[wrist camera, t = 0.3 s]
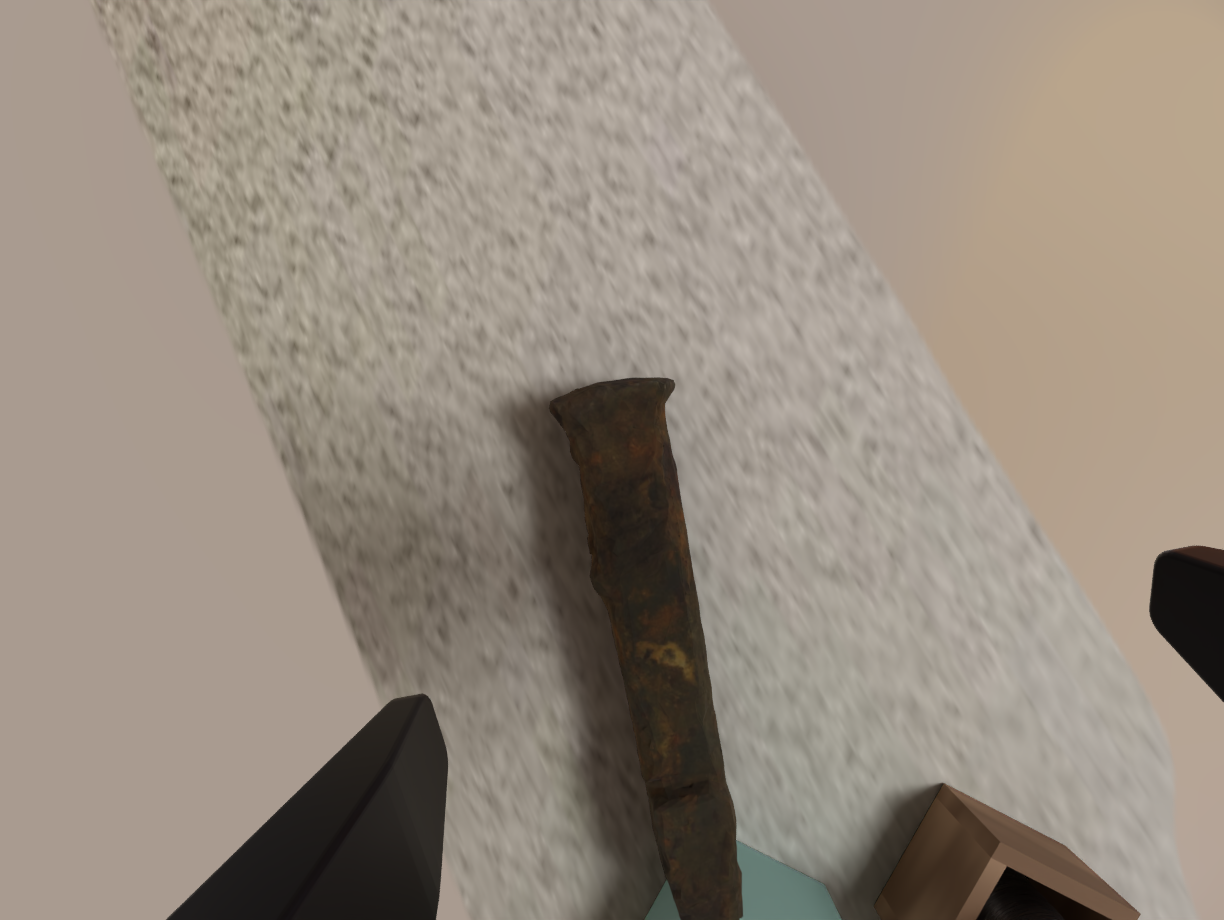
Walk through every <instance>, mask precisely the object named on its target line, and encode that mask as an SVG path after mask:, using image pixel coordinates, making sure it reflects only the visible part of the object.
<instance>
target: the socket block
mask: <svg viewBox="0 0 1224 920" xmlns="http://www.w3.org/2000/svg"><path fill="white" fill-rule="evenodd" d="M1007 866H1008V867H1010V868H1012V869H1014V870H1016V871H1018V872H1020V873H1022V874H1024V875H1026V876H1028V877H1030V878H1029V880H1028V881H1029V882H1030V883H1031V884H1032V885H1033V886H1034V887H1035V888H1036V889H1037V890H1038V891H1039V892H1040V893H1041V895H1042V896H1043V897H1044V898H1045V899H1046V900H1047V901H1048V902H1049V903H1050V904H1051V905H1052V906H1053V907H1054V908H1055V909H1056V910H1057V912H1058V913H1059V914H1060V915H1061V916H1062V917H1063V918H1064V919H1065V920H1137V919H1138V918H1139V916H1140V913H1139V912H1138V911H1137V910H1136V909H1135V908H1134V907H1132V906H1131V905H1130V904H1129V903H1128V902H1127V901H1126V900H1125V899H1124V898H1123V897H1121V896H1120V895H1119V894H1118V893H1117V892H1116V891H1115V890H1114V889H1113V888H1111V887H1110V886H1109V885H1108V884H1107V883H1106V882H1105V881H1104V880H1103V879H1102V878H1100V877H1099V876H1098V875H1097V874H1096V873H1095V872H1094V871H1093V870H1092V869H1090V868H1089V867H1088V866H1087V865H1086V864H1085V863H1084V862H1083V861H1082V860H1081V859H1079V858H1078V857H1077V856H1076V855H1075V854H1074V853H1073V852H1072V851H1071V850H1070V849H1068V848H1067V847H1066V846H1065V845H1063V844H1061V843H1059V842H1057V841H1055V840H1053V839H1051V838H1049V837H1047V836H1045V835H1043V834H1041V833H1039V832H1038V831H1036V830H1034V829H1032V828H1030V827H1028V826H1026V825H1024V824H1022V823H1020V822H1018V821H1016V820H1014V819H1012V818H1010V817H1008V816H1007V815H1005V814H1003V813H1001V812H999V811H997V810H995V809H993V808H991V807H989V806H987V805H985V804H983V803H981V802H979V801H977V800H976V799H974V798H972V797H970V796H968V795H966V794H964V793H962V792H960V791H958V790H956V789H954V788H952V787H950V786H948V785H946V784H945V783H944V784H943V786H942V787H941V789H940V791H939V793H938V794H937V796H936V798H935V800H934V801H933V803H932V805H931V807H930V808H929V810H928V812H927V814H926V815H925V817H924V819H923V821H922V822H921V824H920V826H919V828H918V829H917V831H916V833H915V835H914V836H913V838H912V840H911V842H910V843H909V845H908V847H907V849H906V850H905V852H904V854H903V856H902V857H901V859H900V861H899V863H898V865H897V866H896V868H895V870H894V872H893V873H892V875H891V877H890V879H889V880H888V882H887V884H886V886H885V887H884V889H883V891H882V893H881V894H880V896H879V898H878V900H877V901H876V903H875V905H874V908H875V909H876V911H877V913H878V915H879V916H880V918H881V920H976V919H977V917H978V915H979V913H980V912H981V910H982V908H983V907H984V905H985V903H986V901H987V900H988V898H989V896H990V894H991V893H992V891H993V889H994V887H995V886H996V884H997V882H998V881H999V879H1000V877H1001V875H1002V874H1003V872H1004V870H1005V868H1006V867H1007Z"/></svg>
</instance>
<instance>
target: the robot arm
mask: <svg viewBox="0 0 1224 920" xmlns="http://www.w3.org/2000/svg"><path fill="white" fill-rule="evenodd" d="M1149 612H1150V617H1151V620H1152V622H1153V624H1154V626H1155V628H1156V629H1157V630H1158V632H1159V633H1160V634H1161V635H1162V636H1163V637H1164V638H1165V639H1166V641H1167V642H1168V643H1169V644H1170V645H1171V646H1172V647H1173V648H1174V649H1175V650H1176V651H1177V652H1178V653H1179V654H1180V656H1181V657H1182V658H1183V659H1184V660H1185V661H1186V662H1187V663H1188V664H1189V665H1190V666H1191V668H1192V669H1193V670H1194V671H1195V672H1196V673H1197V674H1198V675H1199V676H1200V677H1201V678H1202V679H1203V680H1204V682H1205V683H1206V684H1207V685H1208V686H1209V687H1210V688H1211V689H1212V690H1213V691H1214V692H1215V694H1216V695H1217V696H1218V697H1219V698H1220V699H1221V700H1222V701H1223V702H1224V550H1221V549H1215V548H1211V547H1205V546H1188V547H1183V548H1178V549H1173V550H1168V551H1164V552H1162V553H1161V554H1159V555H1158V557H1157V558H1156V560H1155V564H1154V569H1153V578H1152V588H1151V597H1150V606H1149ZM447 776H448V757H447V750H446V746H445V742H444V739H443V736H442V733H441V730H440V727H439V723H438V720H437V717H436V714H435V711H434V708H433V705H432V702H431V700H430V699H429V697H428V696H427V695H425V694H417V695H411V696H406V697H401V698H396V699H393V700H391V701H390V702H389V703H388V704H387V705H386V706H385V707H384V708H383V709H382V710H381V711H380V712H379V713H378V714H377V715H376V716H374V717H373V718H372V719H371V720H370V721H369V722H368V723H367V724H366V725H365V726H364V727H363V728H362V729H361V730H360V731H359V732H358V733H357V734H356V735H355V736H354V737H353V738H352V739H351V740H350V741H349V742H348V743H347V744H346V745H345V746H344V747H343V748H342V749H341V750H340V751H339V752H338V753H337V754H336V755H334V756H333V757H332V758H331V759H330V760H329V761H328V762H327V763H326V764H325V765H324V766H323V767H322V768H321V769H320V770H319V771H318V772H317V773H316V774H315V775H314V776H313V777H312V778H311V779H310V780H309V781H308V782H307V783H306V784H305V785H304V786H303V787H302V788H301V789H300V790H299V791H298V792H297V793H296V794H295V795H294V796H292V797H291V798H290V799H289V800H288V801H287V802H286V803H285V804H284V805H283V806H282V807H281V808H280V809H279V810H278V811H277V812H276V813H275V814H274V815H273V816H272V817H271V818H270V819H269V820H268V821H267V822H266V823H265V824H264V825H263V826H262V827H261V828H260V829H259V830H258V831H257V832H256V833H254V835H252V836H251V837H250V838H249V839H248V840H247V841H246V842H245V843H244V844H243V845H242V846H241V847H240V848H239V849H238V850H237V851H236V852H235V853H234V854H233V855H232V856H231V857H230V858H229V859H228V860H227V861H226V862H225V863H224V864H223V865H222V866H221V867H220V868H219V869H218V870H217V871H215V872H214V873H213V874H212V875H211V877H209V878H208V879H207V880H206V881H205V882H204V883H203V884H202V885H201V886H200V887H199V888H198V889H197V890H196V891H195V892H194V893H193V894H192V895H191V896H190V897H189V898H188V899H187V900H186V901H185V902H184V903H183V904H182V905H181V906H180V907H179V908H177V909H176V910H175V911H174V912H173V913H172V914H171V915H170V916H169V917H168V918H167V919H166V920H436V914H437V908H438V901H439V893H440V882H441V869H442V868H441V867H442V853H443V838H444V822H445V807H446V791H447Z"/></svg>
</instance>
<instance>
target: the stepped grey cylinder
mask: <svg viewBox="0 0 1224 920" xmlns="http://www.w3.org/2000/svg"><path fill="white" fill-rule="evenodd" d="M976 920H1065V919H1064V918H1063V917H1062V916H1061V915H1060V914H1059V913H1058V912H1057V910H1056V909H1055V908H1054V907H1053V906H1052V905H1051V904H1050V903H1049V902H1048V901H1047V900H1046V899H1045V898H1044V897H1043V896H1042V895H1041V893H1040V892H1039V891H1038V890H1037V889H1036V888H1035V887H1034V886H1033V885H1032V884H1031V883H1030V882H1029V881H1028V880H1027V879H1026V878H1025V876H1024V875H1023V874H1022V873H1020V872H1018V871H1016V870H1014V869H1012V868H1010V867H1008V866H1007V867H1006V868H1005V870H1004V872H1003V874H1002V875H1001V877H1000V879H999V881H998V882H997V884H996V886H995V887H994V889H993V891H992V893H991V894H990V896H989V898H988V900H987V901H986V903H985V905H984V907H983V908H982V910H981V912H980V913H979V915H978V917H977V919H976Z"/></svg>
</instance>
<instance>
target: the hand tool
mask: <svg viewBox="0 0 1224 920" xmlns="http://www.w3.org/2000/svg"><path fill="white" fill-rule="evenodd" d="M674 388H675V383H674V380H671V379H668V378H627V379H621V380H614V381H607V382H599V383H595V384H592V385H589V386H586V387H583V388H580V389H575V390H574V391H572V392H570V393H568V394H566V395H564V396H561V397H559V398H556V399H554V400H553V401H551V402H550V407H549V409H550V412H551V414H552V415H553V416H554V417H555V418H556V420H557V421H558V422H559V424H560V425H561V426H562V427H563V429H564V430H565V431H566V434H567V436H568V438H569V440H570V452H571V455H572V458H573V459H574V461H575V462H576V463H577V464H578V465H579V468H580V476H581V487H582V492H583V496H584V512H585V522H586V526H587V530H588V534H589V535H588V538H587V539H588V546H589V550H590V554H592V566H591V571H590V578H591V582H592V585H593V587H594V589H595V590H596V592H597V593H598V594H599V595H600V596H601V598H602V600H603V602H604V604H605V606H606V608H607V610H608V614H609V617H610V621H611V626H612V633H613V637H614V640H615V646H616V650H617V653H618V658H619V664H620V667H621V672H622V676H623V680H624V684H625V690H626V694H627V699H628V703H629V710H630V715H631V719H632V722H633V729H634V732H635V737H636V742H637V751H638V756H639V762H640V766H641V772H642V776H643V779H644V781H645V785H646V790H647V795H648V797H649V805H650V812H651V818H652V827H653V831H654V834H655V838H656V842H657V846H658V850H659V854H660V859H661V862H662V866H663V869H664V872H665V876H666V879H667V881H668V884H669V886H670V889H671V893H672V896H673V899H674V902H675V904H676V907H677V910H678V913H679V917H680V919H681V920H740V918H742V917H743V899H742V871H741V869H740V867H739V864H738V862H737V843H736V816H735V810H734V805H733V801H732V798H731V795H730V792H729V789H728V786H727V784H726V778H725V771H724V761H723V755H722V749H721V744H720V739H719V733H718V728H717V721H716V714H715V711H714V706H713V700H712V687H711V681H710V676H709V671H708V663H707V653H706V645H705V639H704V633H703V628H702V624H701V618H700V610H699V602H698V597H697V591H696V586H695V581H694V576H693V569H692V563H691V556H690V550H689V543H688V536H687V529H686V524H685V519H684V514H683V508H682V502H681V496H680V489H679V483H678V475H677V468H676V464H675V461H674V458H673V455H672V450H671V444H670V439H669V435H668V430H667V424H666V418H665V403H666V401H667V400H668V398H669V396H670V395H671V393H672V392H673V390H674Z"/></svg>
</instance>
